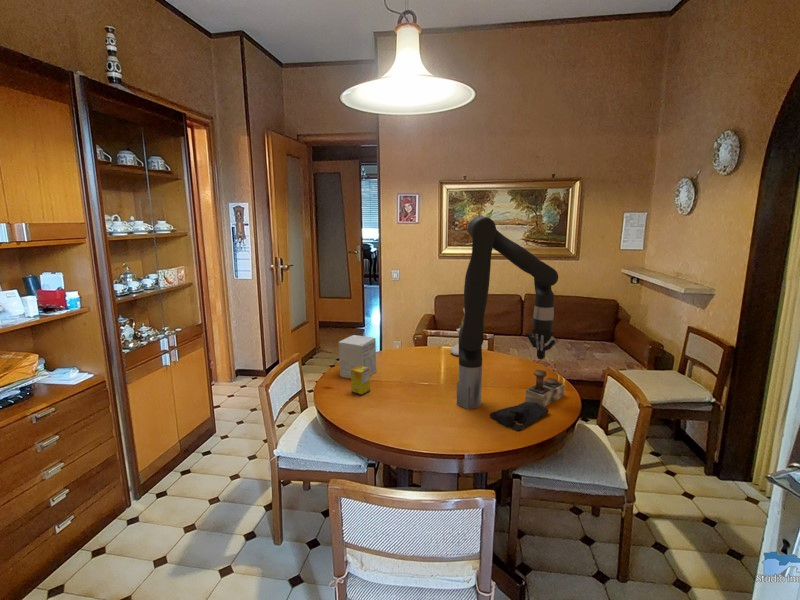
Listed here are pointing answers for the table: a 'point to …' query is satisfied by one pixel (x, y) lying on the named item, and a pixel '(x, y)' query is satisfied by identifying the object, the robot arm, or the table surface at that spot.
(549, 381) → the brown mushroom knob
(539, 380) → the brown rounded piece
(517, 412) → the black folded cloth
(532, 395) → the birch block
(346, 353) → the supplement box
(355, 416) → the table surface
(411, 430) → the table surface
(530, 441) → the table surface
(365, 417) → the table surface
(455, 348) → the flower in vase
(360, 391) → the supplement box
